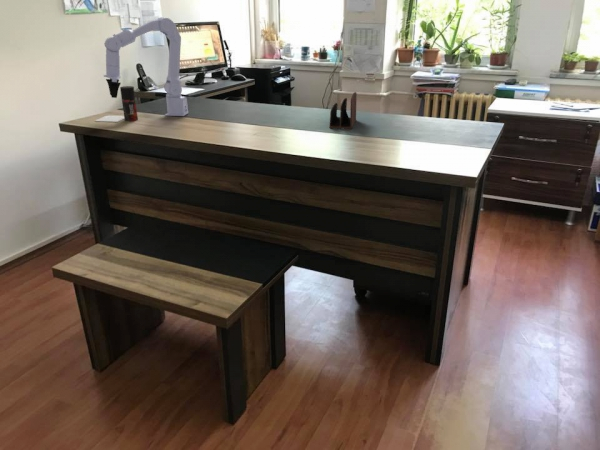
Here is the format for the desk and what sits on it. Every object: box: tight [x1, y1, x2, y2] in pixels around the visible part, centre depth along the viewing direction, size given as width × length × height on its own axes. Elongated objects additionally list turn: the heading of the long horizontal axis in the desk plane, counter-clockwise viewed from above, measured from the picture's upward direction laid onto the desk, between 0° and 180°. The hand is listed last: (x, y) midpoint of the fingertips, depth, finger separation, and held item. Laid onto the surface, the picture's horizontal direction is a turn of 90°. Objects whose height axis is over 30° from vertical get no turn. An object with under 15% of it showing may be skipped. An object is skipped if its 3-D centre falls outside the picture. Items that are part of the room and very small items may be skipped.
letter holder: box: [329, 91, 358, 130], centre depth 225 cm, size 10×20×14 cm, turn 168°
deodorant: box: [119, 85, 138, 122], centre depth 230 cm, size 6×6×15 cm
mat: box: [94, 115, 125, 123], centre depth 234 cm, size 11×12×1 cm
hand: (113, 96), depth 228 cm, fingers open, 7 cm apart
